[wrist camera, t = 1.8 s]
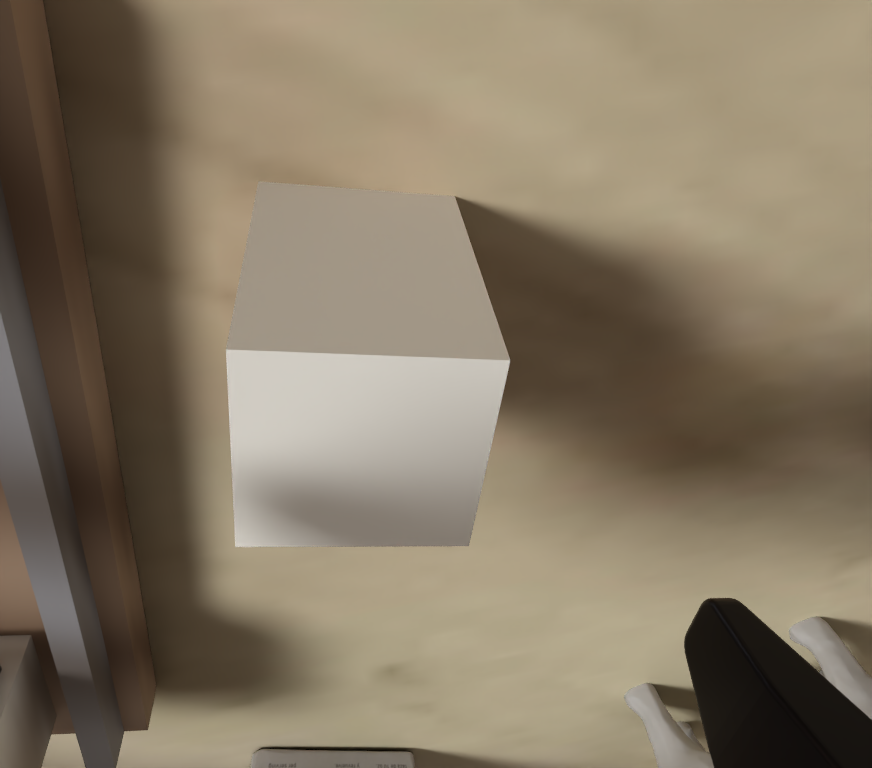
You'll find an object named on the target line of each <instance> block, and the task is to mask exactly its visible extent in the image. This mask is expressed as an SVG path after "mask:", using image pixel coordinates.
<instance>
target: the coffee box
mask: <svg viewBox="0 0 872 768" xmlns="http://www.w3.org/2000/svg"><path fill="white" fill-rule="evenodd" d="M250 768H415V764H414V757H413V754H412V753H410V752H396V751H379V752H376V751H328V750H286V749H261V750H258V751H257V752H255V753H253V756H252V759H251V764H250Z"/></svg>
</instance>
